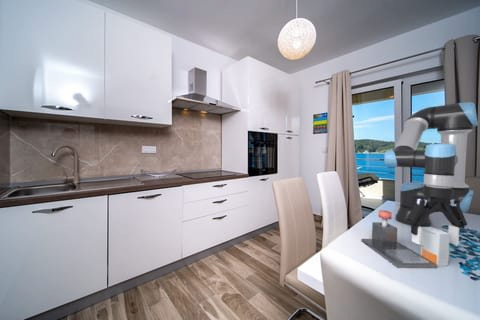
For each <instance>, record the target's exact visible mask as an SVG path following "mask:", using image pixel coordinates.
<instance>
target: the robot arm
mask: <svg viewBox="0 0 480 320" xmlns="http://www.w3.org/2000/svg"><path fill="white" fill-rule="evenodd" d="M478 125H479V122H478V118H477V110H476V104H475V103H474V102H472V101H470V102H469V101H468V102H457V103H451V104H444V105H443V104H442V105H437V106H429V107H424V108H422V109H420V110H418V111H415V112H414V113H412V114H411V115H410V116H409V117H408V118H406V120H405V121H404V124H403V131H402V133H401V135H400V137H399V138H398V140H397V143H396V145H395V147H394V149H389V150H386V151H385V152H384V155H383V161H384V164H385V166H388V167H395V168H415V169H416V168H417V169H424V172H423V182H419V181H418V182H417V181H415V182H414V181H411V182H403V183H402V184H400V185H401V186H400V190H399V191H400V193H399V194H400V195H399V208H398V210H397V212H396V214H395V221H397V222H399V223H402V224H404V225H407V226H410V233H411V242H412V243H415V244H416V245H419V246H421V239H422V227H432V220H431V219H430V215H432V214H434V213H442V214H443V216H444V217H445V218H446V219H447V221H448V222H449V223H450V224H448V229H447V231H448V232H447V233H450V240H449V244H452V245H454V246H455V247H456V246H459V241H460V240H459V239H460V235H461V229H465V227H466V226H468V223H467V220H466V218H465V215H464V214H463V213H467V212H469V209H470V206H471V202H472V201H473V200H472V199H473V196H474V190H472V189H470V186H469V185H468V183H465V179H466V178H465V177H466V163H467V160H466V159H467V146H468V145H467V144H468V134H469V133H471V132H472V131H473V130H474V127H477V126H478ZM426 130H436V132H437V134H439V135H440V143H430V144H427V145H426V146H425V149H423V150H422V149H418V147H419V143H420V141H421V140H422V136H423V135H424V134H423V133H424V132H425V131H426Z"/></svg>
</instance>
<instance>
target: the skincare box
mask: <svg viewBox="0 0 480 320" xmlns="http://www.w3.org/2000/svg"><path fill="white" fill-rule="evenodd" d="M449 240H450V233H448V232H446V231H444V230H442V229H439V228H435V227H433V226H431V227H422V233H421V245H420V255H421V256H423V257H425V258H426V259H428V260H430V261H432V262H433V263H435V264H437V267H447V266H448V265H449V255H450V254H449V251H450V243H449Z"/></svg>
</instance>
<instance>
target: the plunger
mask: <svg viewBox="0 0 480 320" xmlns="http://www.w3.org/2000/svg"><path fill="white" fill-rule="evenodd" d="M392 214H393V213H392V212H391V211H389V210H388V211H387V210H381V209H380V210H378V218H380V219H381V222H382V226H387V223H388V220H392V216H393V215H392Z"/></svg>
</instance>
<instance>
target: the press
mask: <svg viewBox="0 0 480 320" xmlns="http://www.w3.org/2000/svg"><path fill="white" fill-rule="evenodd" d="M371 225H372V227H371V238H361V239H360V240H361V242H362V243H363V244H364V245H365V246H366V247H368V248H370V249H371V250H372V251H374V252H375V253H376V254H378V255H379V256H381V257H382V258H383V259H385V260H386V261H387V260H388V261H387V262H389V263H390V264H391V263H392V266H394V267H396V268H397V269H438V266H437V264H435V263H433V262H432V261H430V260H428V259H426V258H425V257H423V256H421V254H419V253H418V252H416V251H414V250H413V249H410V248H409V247H407V246H406V245H404V244H402V243H400V242H398V227H396V226H395V225H393V224H391V223H388V222H387V226H382V221H381V222H379V221H378V222H374V221H373V222H372V224H371Z"/></svg>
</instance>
